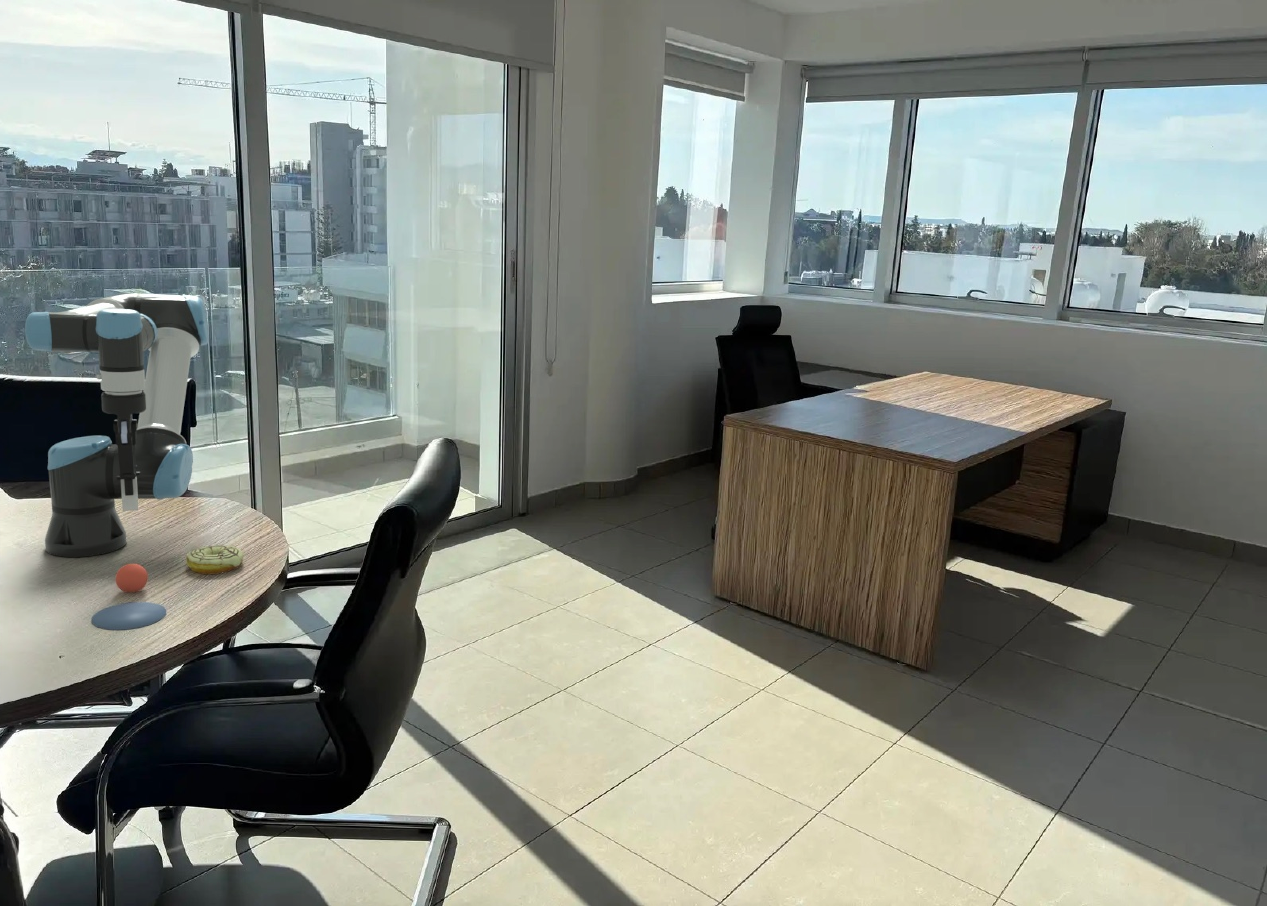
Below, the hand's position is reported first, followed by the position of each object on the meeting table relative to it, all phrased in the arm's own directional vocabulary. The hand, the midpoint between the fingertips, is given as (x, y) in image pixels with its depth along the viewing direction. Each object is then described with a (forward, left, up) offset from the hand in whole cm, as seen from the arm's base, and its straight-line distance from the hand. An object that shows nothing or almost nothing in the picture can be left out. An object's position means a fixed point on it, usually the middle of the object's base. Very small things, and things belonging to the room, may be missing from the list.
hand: (130, 509), depth 191 cm
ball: (+9, -2, -11) cm, 14 cm away
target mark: (+21, -5, -14) cm, 25 cm away
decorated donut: (+3, +15, -14) cm, 21 cm away
